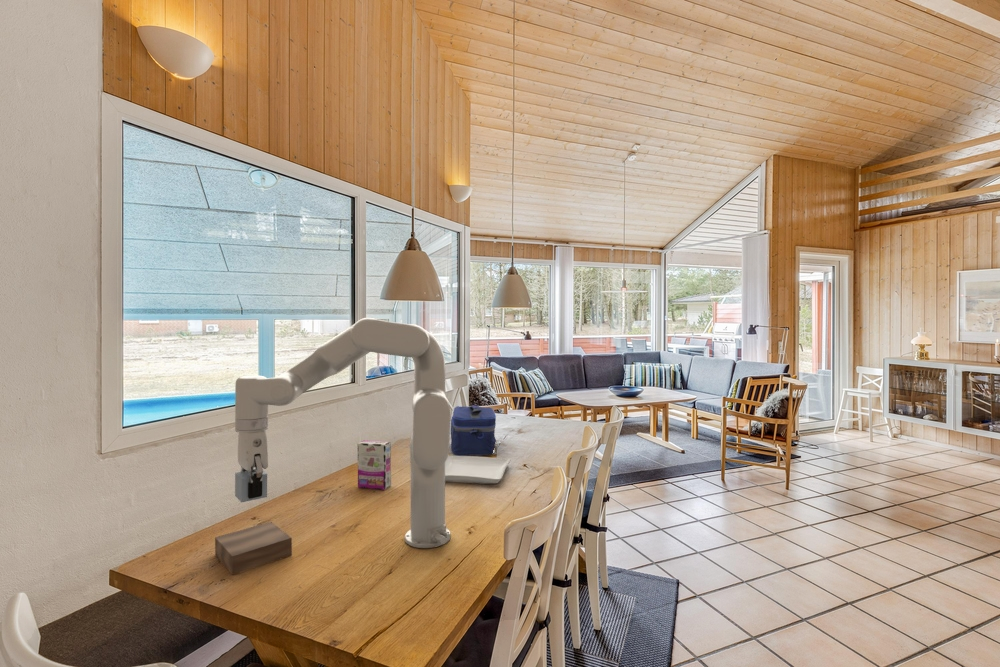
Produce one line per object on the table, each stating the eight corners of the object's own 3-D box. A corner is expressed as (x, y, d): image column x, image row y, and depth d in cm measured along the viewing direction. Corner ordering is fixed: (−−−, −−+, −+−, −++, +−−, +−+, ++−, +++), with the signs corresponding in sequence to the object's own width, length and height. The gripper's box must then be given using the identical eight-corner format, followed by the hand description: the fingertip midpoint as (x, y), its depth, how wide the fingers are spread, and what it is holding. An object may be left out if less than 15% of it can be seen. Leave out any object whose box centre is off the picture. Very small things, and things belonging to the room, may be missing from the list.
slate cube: (267, 497, 125) (267, 473, 125) (241, 502, 121) (241, 478, 121) (259, 490, 130) (260, 468, 130) (235, 495, 126) (235, 472, 126)
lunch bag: (498, 457, 217) (499, 411, 216) (451, 458, 214) (451, 412, 214) (491, 440, 248) (491, 399, 247) (450, 441, 245) (450, 400, 244)
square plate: (501, 488, 178) (501, 478, 177) (428, 484, 182) (428, 474, 182) (511, 466, 204) (511, 457, 204) (447, 463, 209) (447, 454, 208)
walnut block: (291, 556, 126) (291, 537, 126) (232, 576, 116) (232, 556, 116) (271, 539, 136) (271, 521, 136) (215, 556, 126) (215, 537, 126)
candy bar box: (391, 485, 179) (391, 441, 178) (385, 490, 174) (385, 444, 174) (364, 483, 182) (363, 439, 181) (357, 487, 177) (356, 442, 176)
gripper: (278, 428, 121) (277, 499, 122) (257, 416, 134) (256, 481, 135) (245, 432, 116) (244, 507, 117) (226, 420, 129) (226, 487, 130)
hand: (251, 492), depth 126 cm, fingers closed on slate cube, 6 cm apart
